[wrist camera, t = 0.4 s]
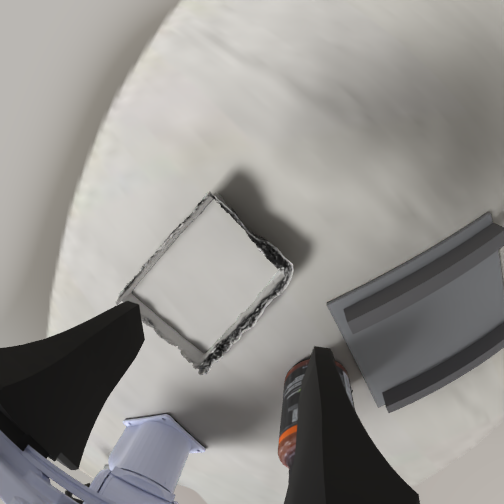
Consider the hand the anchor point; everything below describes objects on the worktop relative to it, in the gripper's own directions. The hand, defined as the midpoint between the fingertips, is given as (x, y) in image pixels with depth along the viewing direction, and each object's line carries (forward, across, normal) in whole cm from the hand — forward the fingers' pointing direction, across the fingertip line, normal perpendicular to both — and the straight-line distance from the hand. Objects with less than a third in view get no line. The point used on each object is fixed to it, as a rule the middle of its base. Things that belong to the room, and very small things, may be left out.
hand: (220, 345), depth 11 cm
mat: (+11, -16, +5) cm, 20 cm away
